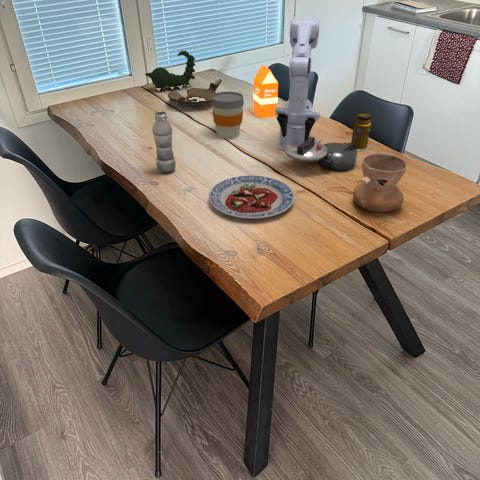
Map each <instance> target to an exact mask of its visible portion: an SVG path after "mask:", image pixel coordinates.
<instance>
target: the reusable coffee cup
mask: <svg viewBox="0 0 480 480" xmlns="http://www.w3.org/2000/svg"><path fill="white" fill-rule="evenodd" d="M244 100H245V99H244V95H243V94H242V93H240V92H237V91H236V92H235V91H220V92H216V93H215V94H213V95H212V101H211V103H210V104H211V107H212V111H211V112H212V117H213V118H212V119H213V123H214V124H215V129H216V130H215V131H216V135H217V137H218V138H221V137H222V139H234V137H235V138H238V137H239V136H240V133H241V124H243V118H244V117H243V116H244V110H243V109H244V104H245V102H244ZM238 135H239V136H238Z"/></svg>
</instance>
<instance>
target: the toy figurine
mask: <svg viewBox="0 0 480 480" xmlns="http://www.w3.org/2000/svg"><path fill="white" fill-rule="evenodd" d="M179 56H184V57H185V58H186V63H185V64H186V65H185V68H184V72H183V74H181V75H180V74H175V73H172V72H169V70H168V69H166V68H164V67H162V66H159V67H156V68H154V69H153V70H152V71H151V72H148V73H146V72H145V73H144V76H146V77H148V78H149V79H150V80H151V82H152V84H153V85H154V86H155V87H156V88H162V89H163V88H165V87H167V86H169V87H174V86H181V85H183V86H186V85H189V84H190V85H191V83H190V80H195V77H196V76H195V75H193V73H196V69H194V66H195V67H196V63H195V60H196V58H195V57H194V56H193V55H192V54H189V51H188V50H180V51H179V52H178V54H177V57H179ZM184 84H186V85H184ZM169 87H168V88H169ZM156 88H155V89H156Z"/></svg>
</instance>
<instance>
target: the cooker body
mask: <svg viewBox="0 0 480 480" xmlns="http://www.w3.org/2000/svg"><path fill="white" fill-rule="evenodd" d="M349 143H350V142H327V143H324V144H323V145H324V146H325V147H326V148H327V156H326V157H325V158H323V159H321V160H317V161H316V162H317V165H318V166H319V167H320V168H321V169H323V170H325V171H329V172H334V173H335V172H336V173H345V172H349V171H352V170H353V169H355V167H356V162H357V157H358V156H357V155H358V151H357V150H356V148H354V147H353V146H352V145H353V144H349Z"/></svg>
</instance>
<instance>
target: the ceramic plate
mask: <svg viewBox="0 0 480 480" xmlns="http://www.w3.org/2000/svg"><path fill="white" fill-rule="evenodd" d="M208 196H209V202H210V204H211V205H212V206H213V207H214V208H215V209H216V210H217V211H219V212H221V213H222V214H225V215H228V216H232V217H234V218H241V219H248V220H249V219H250V220H251V219H265V218H270V217H273V216H274V217H275V216H277V215H280V214H282V213H284V212H286V211H287V210H289V209H290V208H291V207H292V205H293V204H294V202H295V197H296V196H295V193H294V191H293V189H292V188H291V187H290V186H289V185H288V184H286V183H285V182H283V181H281V180H279V179H276V178H273V177H269V176H264V175H239V176H238V175H237V176H234V177H230V178H226V179H224V180H222V181H220V182H218V183H217V184H215V185H214V186H213V187H212V188H211V190H210V191H209V195H208Z"/></svg>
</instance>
